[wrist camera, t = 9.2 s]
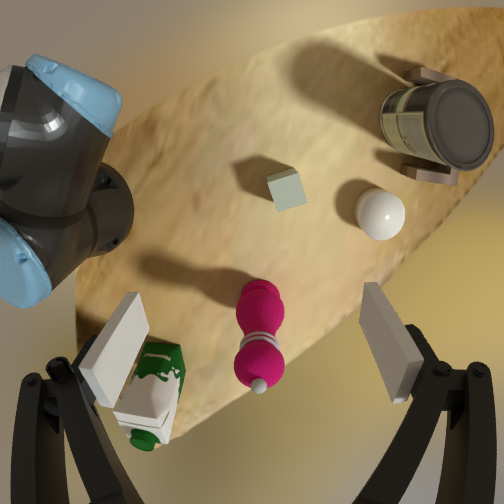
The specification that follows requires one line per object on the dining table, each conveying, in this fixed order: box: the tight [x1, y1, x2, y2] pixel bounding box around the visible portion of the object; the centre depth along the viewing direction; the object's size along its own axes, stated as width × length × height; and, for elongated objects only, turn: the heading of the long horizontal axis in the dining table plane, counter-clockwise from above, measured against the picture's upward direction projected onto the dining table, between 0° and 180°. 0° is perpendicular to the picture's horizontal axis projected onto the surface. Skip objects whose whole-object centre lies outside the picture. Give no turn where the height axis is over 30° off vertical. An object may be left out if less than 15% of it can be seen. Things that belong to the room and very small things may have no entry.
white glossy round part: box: [354, 188, 405, 240], centre depth 40 cm, size 7×7×4 cm
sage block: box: [267, 168, 307, 212], centre depth 39 cm, size 4×4×5 cm
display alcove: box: [401, 67, 459, 186], centre depth 34 cm, size 8×16×5 cm, turn 179°
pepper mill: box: [234, 280, 285, 393], centre depth 39 cm, size 7×7×20 cm
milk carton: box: [113, 342, 186, 451], centre depth 45 cm, size 9×9×20 cm
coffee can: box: [380, 79, 494, 171], centre depth 30 cm, size 10×10×14 cm
